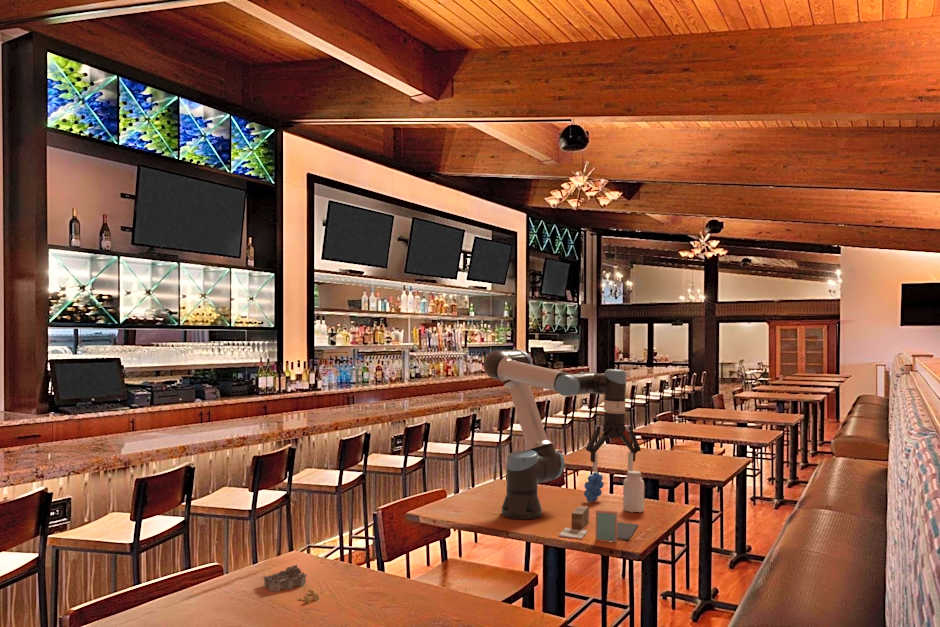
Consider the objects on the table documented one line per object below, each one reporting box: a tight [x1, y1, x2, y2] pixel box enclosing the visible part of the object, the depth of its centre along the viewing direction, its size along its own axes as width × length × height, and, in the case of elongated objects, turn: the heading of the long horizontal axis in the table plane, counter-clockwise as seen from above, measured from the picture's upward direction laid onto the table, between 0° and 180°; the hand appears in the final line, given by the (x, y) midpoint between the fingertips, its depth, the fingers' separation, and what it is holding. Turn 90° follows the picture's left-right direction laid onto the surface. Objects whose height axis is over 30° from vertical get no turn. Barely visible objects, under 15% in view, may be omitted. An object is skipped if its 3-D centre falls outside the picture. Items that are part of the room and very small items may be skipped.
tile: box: [595, 509, 619, 543], centre depth 249 cm, size 7×2×10 cm, turn 69°
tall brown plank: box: [558, 505, 590, 540], centre depth 262 cm, size 22×8×6 cm, turn 159°
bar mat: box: [617, 521, 639, 541], centre depth 260 cm, size 10×20×1 cm, turn 159°
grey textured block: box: [262, 564, 308, 593], centre depth 204 cm, size 11×8×4 cm
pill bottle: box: [622, 470, 645, 513], centre depth 290 cm, size 8×8×15 cm
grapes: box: [583, 471, 605, 503], centre depth 304 cm, size 12×7×12 cm, turn 134°
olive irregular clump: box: [297, 589, 320, 605], centre depth 194 cm, size 5×5×2 cm
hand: (612, 470), depth 270 cm, fingers open, 13 cm apart
